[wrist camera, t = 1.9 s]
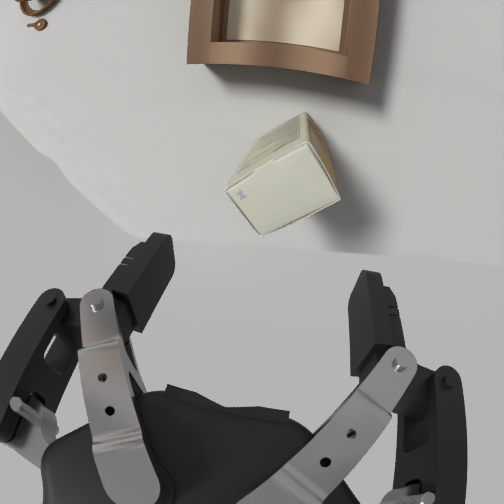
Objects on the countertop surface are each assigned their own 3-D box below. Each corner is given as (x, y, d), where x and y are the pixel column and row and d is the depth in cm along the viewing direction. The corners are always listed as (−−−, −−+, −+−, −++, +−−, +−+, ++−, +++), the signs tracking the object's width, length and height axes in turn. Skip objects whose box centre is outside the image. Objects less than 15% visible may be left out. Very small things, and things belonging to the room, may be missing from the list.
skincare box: (277, 174, 28) (257, 242, 19) (253, 140, 27) (217, 192, 17) (331, 146, 25) (344, 202, 16) (308, 108, 23) (308, 140, 14)
